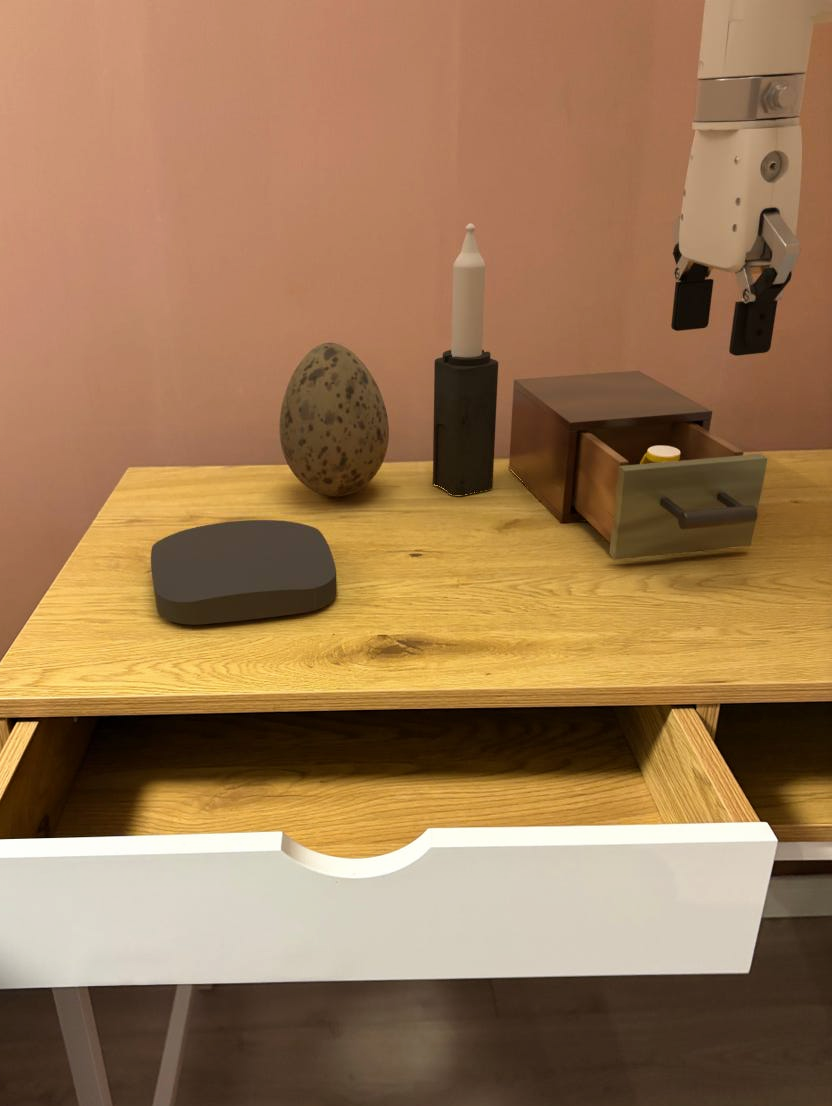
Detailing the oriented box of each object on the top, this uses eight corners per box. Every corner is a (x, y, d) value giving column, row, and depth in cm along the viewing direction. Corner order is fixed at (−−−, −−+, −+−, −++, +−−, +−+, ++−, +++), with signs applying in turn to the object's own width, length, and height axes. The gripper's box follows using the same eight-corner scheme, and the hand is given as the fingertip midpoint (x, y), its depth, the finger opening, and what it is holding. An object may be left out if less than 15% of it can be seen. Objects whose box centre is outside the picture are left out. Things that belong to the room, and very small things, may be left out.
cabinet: (697, 510, 93) (712, 411, 88) (561, 523, 91) (569, 422, 86) (628, 458, 106) (638, 370, 101) (508, 469, 104) (513, 379, 100)
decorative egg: (266, 488, 101) (255, 340, 94) (357, 469, 105) (354, 326, 98) (312, 521, 93) (304, 362, 85) (409, 499, 97) (409, 346, 90)
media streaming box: (156, 634, 74) (152, 599, 72) (153, 557, 86) (149, 526, 85) (346, 613, 76) (344, 578, 75) (315, 541, 89) (314, 510, 87)
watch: (626, 503, 89) (633, 440, 86) (654, 501, 90) (663, 438, 87) (654, 528, 84) (663, 462, 81) (684, 525, 85) (694, 459, 82)
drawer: (783, 569, 79) (802, 477, 75) (639, 584, 77) (652, 491, 73) (673, 487, 96) (684, 409, 92) (553, 498, 94) (559, 419, 90)
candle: (428, 483, 101) (431, 223, 89) (469, 474, 103) (478, 219, 91) (454, 498, 97) (462, 228, 85) (497, 489, 99) (510, 223, 87)
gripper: (867, 101, 65) (821, 359, 74) (733, 102, 80) (708, 317, 89) (763, 108, 64) (729, 369, 73) (647, 108, 79) (630, 324, 88)
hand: (717, 340), depth 81 cm, fingers open, 9 cm apart
